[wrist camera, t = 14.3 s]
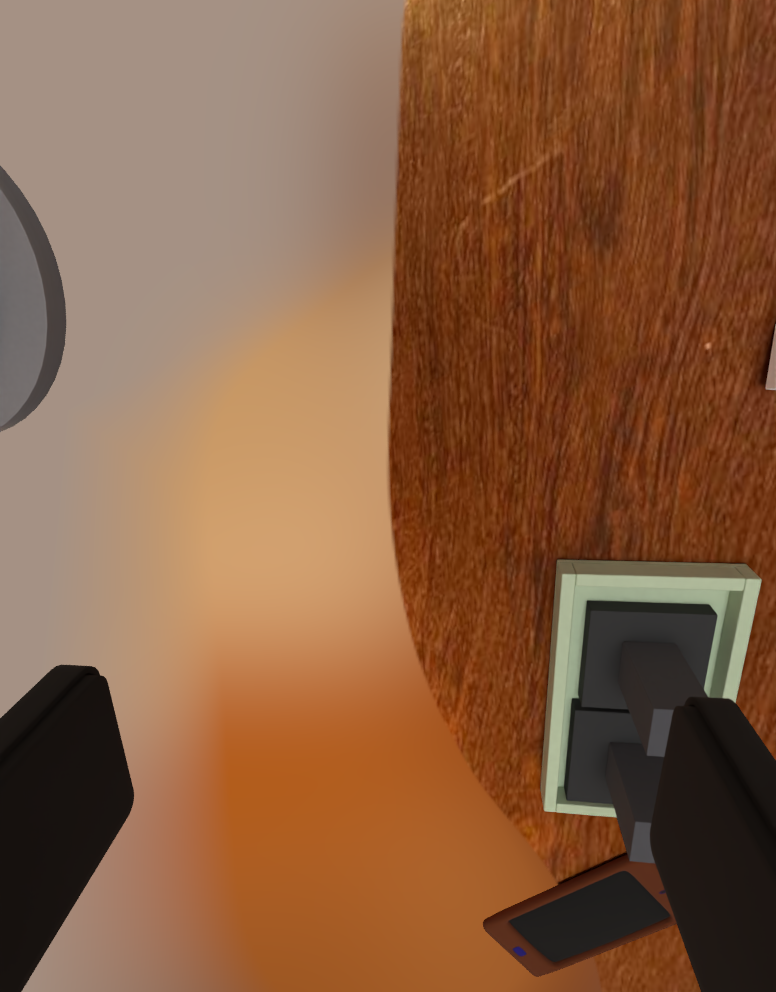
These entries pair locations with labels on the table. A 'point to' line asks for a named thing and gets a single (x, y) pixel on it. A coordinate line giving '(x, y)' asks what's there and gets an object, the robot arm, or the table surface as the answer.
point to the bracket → (772, 367)
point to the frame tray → (636, 582)
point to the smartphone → (584, 916)
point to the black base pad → (593, 749)
